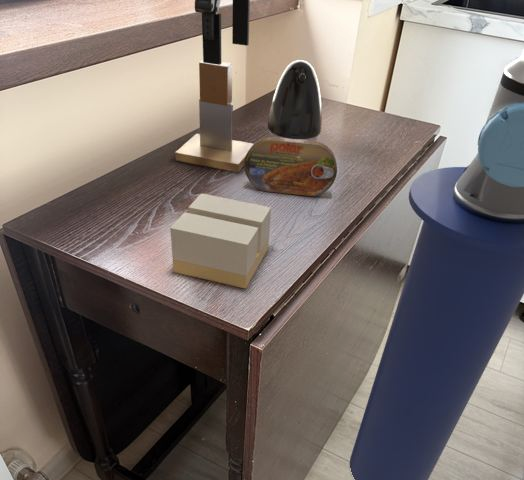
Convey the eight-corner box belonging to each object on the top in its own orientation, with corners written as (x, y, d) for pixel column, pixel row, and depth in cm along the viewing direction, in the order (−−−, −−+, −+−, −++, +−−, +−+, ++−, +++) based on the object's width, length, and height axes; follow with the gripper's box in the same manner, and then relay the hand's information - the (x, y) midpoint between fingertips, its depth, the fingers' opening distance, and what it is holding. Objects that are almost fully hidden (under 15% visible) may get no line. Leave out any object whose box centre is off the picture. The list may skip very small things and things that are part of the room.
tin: (242, 188, 85) (244, 138, 79) (245, 180, 87) (247, 130, 81) (332, 199, 84) (340, 149, 78) (333, 191, 86) (341, 141, 80)
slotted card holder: (268, 249, 72) (271, 207, 67) (245, 288, 65) (247, 244, 60) (202, 235, 73) (201, 193, 69) (173, 272, 66) (170, 227, 62)
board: (255, 151, 96) (255, 144, 95) (238, 172, 89) (238, 164, 88) (196, 141, 98) (196, 133, 97) (175, 160, 91) (174, 152, 90)
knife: (233, 148, 93) (235, 63, 84) (229, 153, 91) (230, 67, 82) (203, 142, 94) (201, 58, 85) (198, 147, 93) (196, 62, 83)
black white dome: (266, 157, 95) (273, 67, 84) (265, 136, 102) (271, 51, 92) (321, 160, 95) (333, 71, 85) (315, 139, 103) (326, 54, 92)
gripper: (231, -125, 78) (230, 35, 92) (161, -129, 60) (174, 69, 75) (278, -122, 77) (270, 40, 91) (221, -126, 59) (222, 75, 73)
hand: (227, 53), depth 83 cm, fingers open, 13 cm apart
